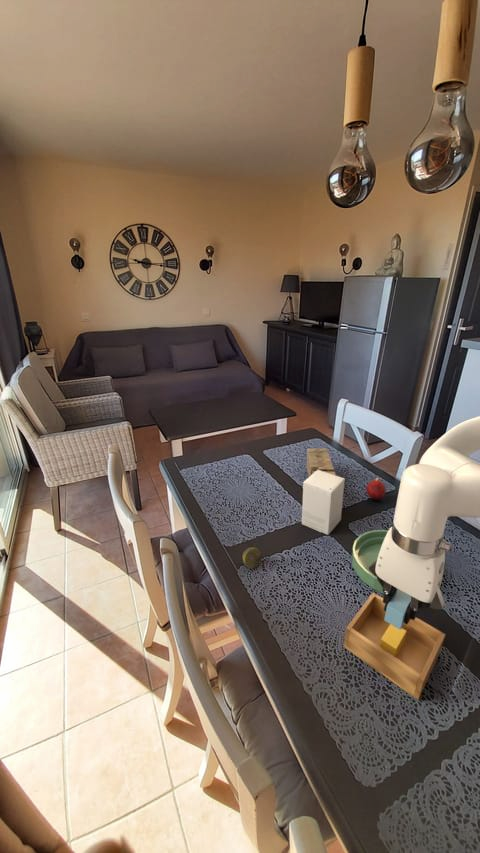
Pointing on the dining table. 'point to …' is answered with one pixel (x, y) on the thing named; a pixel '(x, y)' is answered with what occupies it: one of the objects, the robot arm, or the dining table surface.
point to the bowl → (368, 556)
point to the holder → (413, 657)
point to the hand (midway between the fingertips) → (398, 611)
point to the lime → (251, 557)
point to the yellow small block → (393, 640)
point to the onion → (375, 489)
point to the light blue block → (397, 609)
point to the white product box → (322, 501)
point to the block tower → (319, 461)
